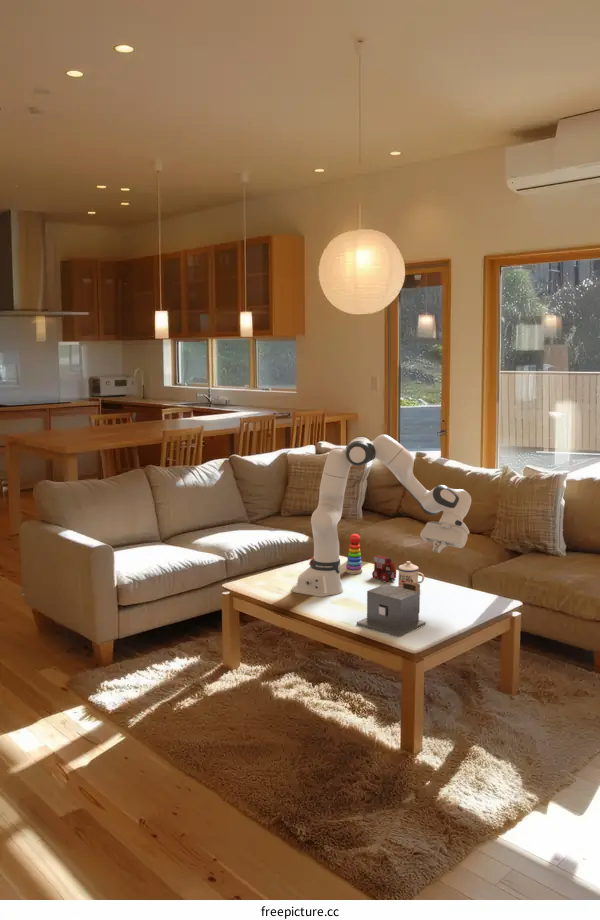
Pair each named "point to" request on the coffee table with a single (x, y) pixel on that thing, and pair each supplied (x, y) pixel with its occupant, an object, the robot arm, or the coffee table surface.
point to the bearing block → (392, 610)
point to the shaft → (406, 585)
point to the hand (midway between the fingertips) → (435, 551)
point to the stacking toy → (354, 556)
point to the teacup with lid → (409, 573)
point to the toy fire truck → (383, 568)
